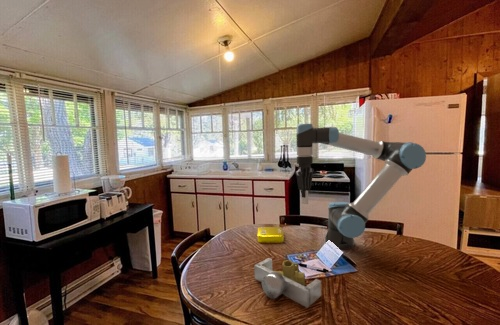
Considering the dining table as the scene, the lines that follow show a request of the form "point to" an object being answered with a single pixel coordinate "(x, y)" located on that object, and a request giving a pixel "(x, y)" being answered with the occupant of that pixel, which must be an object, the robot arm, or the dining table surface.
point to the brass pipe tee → (292, 272)
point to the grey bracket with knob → (285, 285)
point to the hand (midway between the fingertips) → (305, 203)
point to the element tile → (270, 235)
